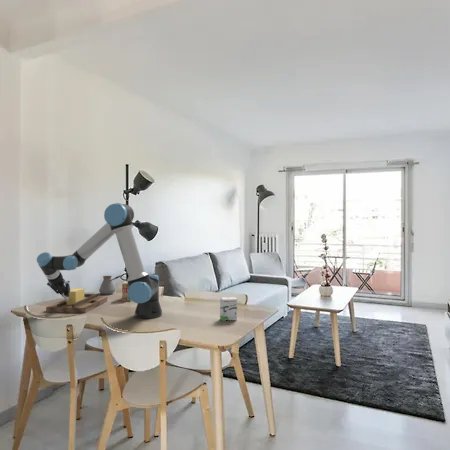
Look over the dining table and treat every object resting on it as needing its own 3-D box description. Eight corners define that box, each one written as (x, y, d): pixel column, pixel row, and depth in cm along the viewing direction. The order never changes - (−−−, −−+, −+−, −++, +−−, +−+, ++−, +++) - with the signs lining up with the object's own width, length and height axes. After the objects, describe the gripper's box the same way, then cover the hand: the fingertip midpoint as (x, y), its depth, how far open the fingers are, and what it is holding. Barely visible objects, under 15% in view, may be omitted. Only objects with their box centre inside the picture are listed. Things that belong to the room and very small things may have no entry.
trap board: (107, 301, 254) (107, 294, 254) (85, 312, 222) (85, 304, 222) (72, 300, 256) (72, 293, 256) (46, 312, 225) (46, 303, 225)
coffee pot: (95, 294, 279) (95, 273, 278) (108, 291, 288) (108, 271, 288) (115, 297, 267) (115, 276, 267) (128, 294, 277) (128, 274, 277)
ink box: (221, 321, 204) (221, 299, 204) (219, 319, 209) (219, 297, 209) (237, 320, 206) (237, 298, 206) (235, 318, 211) (235, 296, 211)
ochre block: (84, 301, 240) (84, 288, 240) (75, 304, 230) (75, 291, 230) (75, 301, 241) (75, 288, 241) (66, 304, 231) (66, 291, 231)
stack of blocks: (134, 295, 276) (134, 278, 276) (142, 295, 275) (142, 278, 275) (122, 301, 255) (121, 282, 255) (130, 301, 254) (130, 283, 254)
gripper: (39, 280, 211) (55, 304, 227) (62, 280, 209) (76, 304, 226) (44, 269, 216) (59, 293, 232) (67, 269, 215) (80, 294, 231)
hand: (67, 299), depth 229 cm, fingers closed
